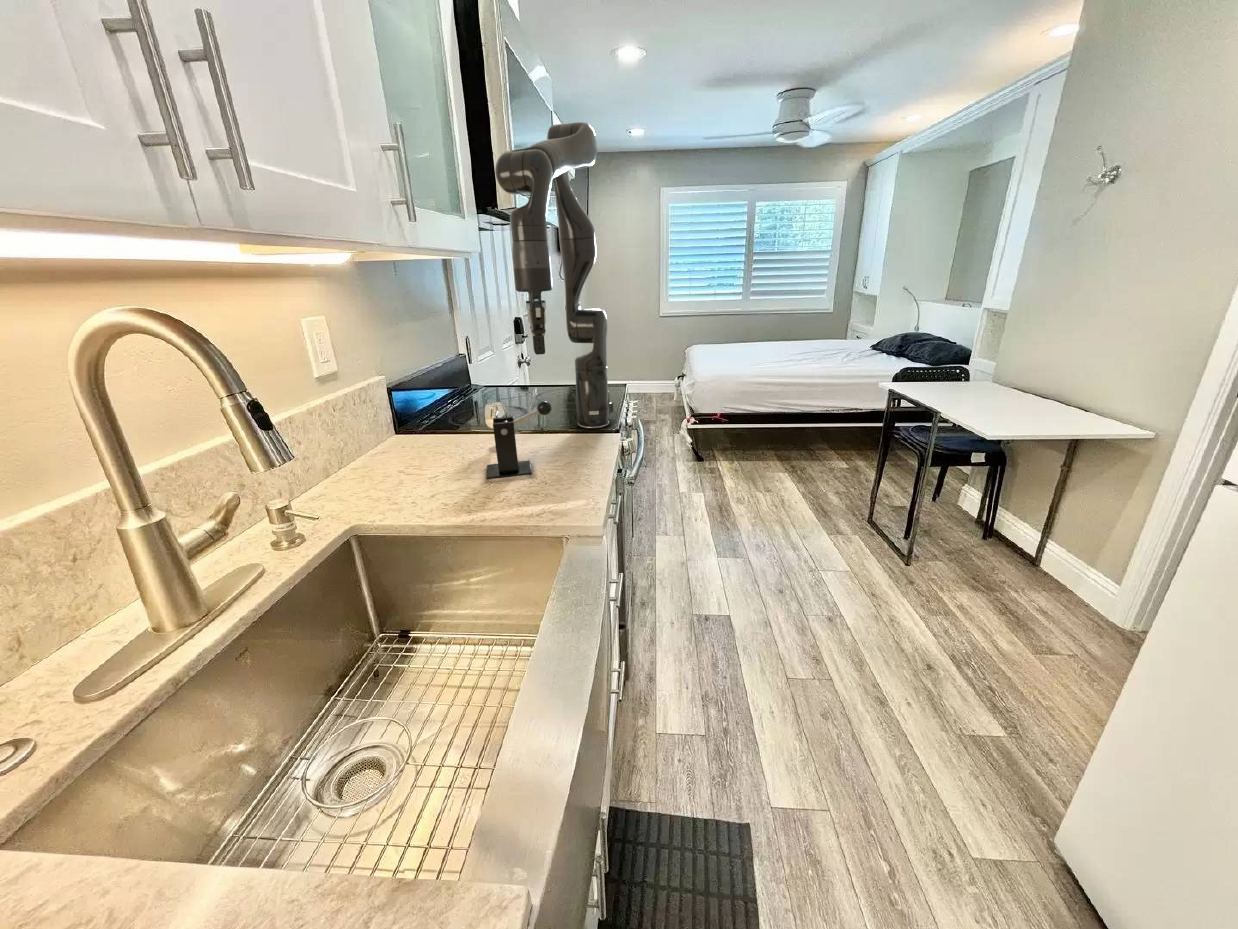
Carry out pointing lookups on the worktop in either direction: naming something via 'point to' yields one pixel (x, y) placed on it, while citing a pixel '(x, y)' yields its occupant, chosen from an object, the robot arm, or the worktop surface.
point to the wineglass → (494, 412)
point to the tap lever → (534, 412)
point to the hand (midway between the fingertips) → (539, 352)
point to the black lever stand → (506, 452)
